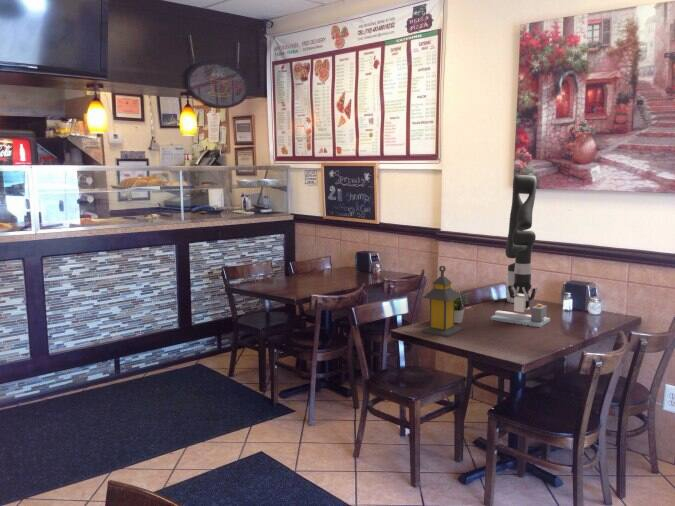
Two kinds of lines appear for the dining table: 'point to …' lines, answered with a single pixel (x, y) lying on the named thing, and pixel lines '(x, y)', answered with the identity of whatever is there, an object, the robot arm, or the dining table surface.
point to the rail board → (518, 321)
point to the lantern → (442, 307)
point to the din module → (520, 303)
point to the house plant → (457, 310)
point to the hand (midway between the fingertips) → (521, 307)
